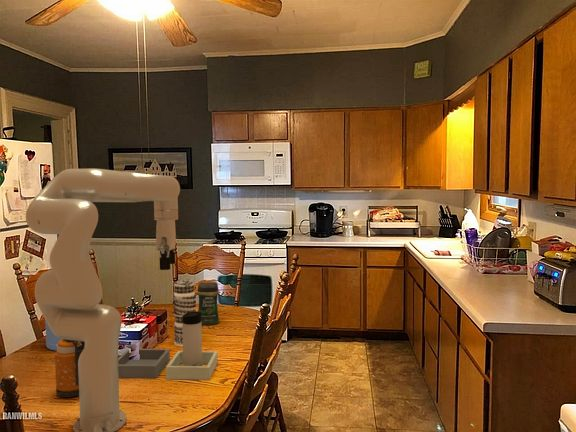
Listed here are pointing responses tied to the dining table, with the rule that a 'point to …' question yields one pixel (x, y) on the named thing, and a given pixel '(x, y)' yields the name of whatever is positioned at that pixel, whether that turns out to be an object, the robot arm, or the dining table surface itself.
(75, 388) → the canister
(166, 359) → the charcoal tray
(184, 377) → the sage crate
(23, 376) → the dining table surface
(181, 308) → the decorative candle
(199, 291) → the coffee jar
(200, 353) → the travel mug
